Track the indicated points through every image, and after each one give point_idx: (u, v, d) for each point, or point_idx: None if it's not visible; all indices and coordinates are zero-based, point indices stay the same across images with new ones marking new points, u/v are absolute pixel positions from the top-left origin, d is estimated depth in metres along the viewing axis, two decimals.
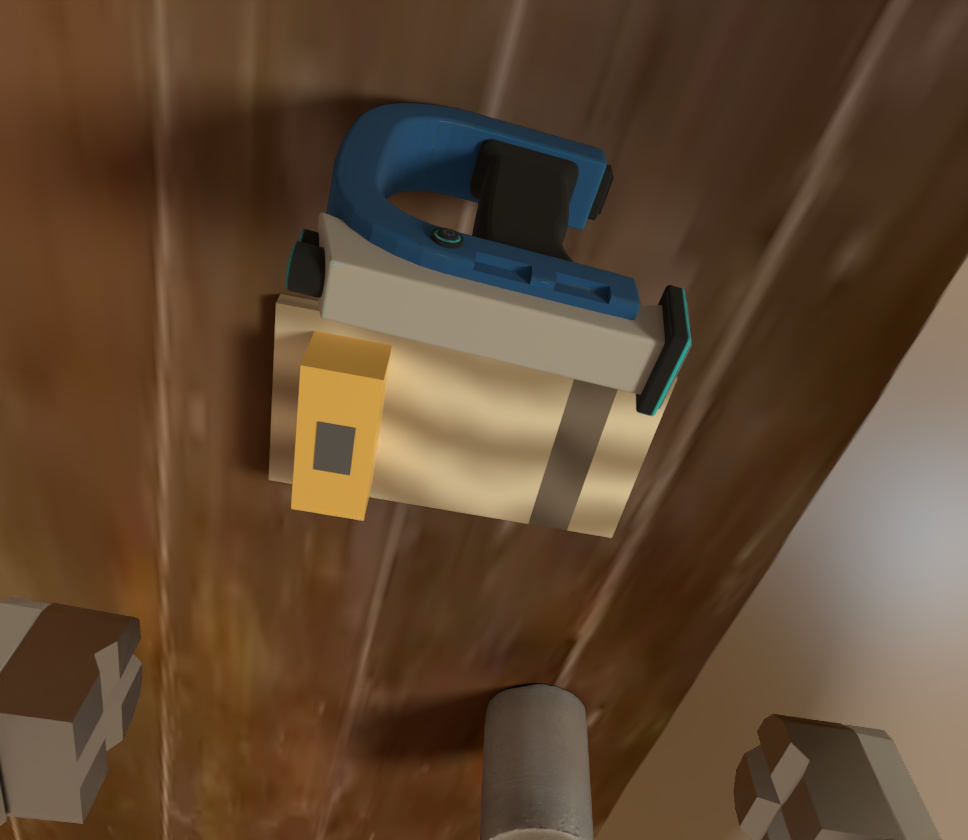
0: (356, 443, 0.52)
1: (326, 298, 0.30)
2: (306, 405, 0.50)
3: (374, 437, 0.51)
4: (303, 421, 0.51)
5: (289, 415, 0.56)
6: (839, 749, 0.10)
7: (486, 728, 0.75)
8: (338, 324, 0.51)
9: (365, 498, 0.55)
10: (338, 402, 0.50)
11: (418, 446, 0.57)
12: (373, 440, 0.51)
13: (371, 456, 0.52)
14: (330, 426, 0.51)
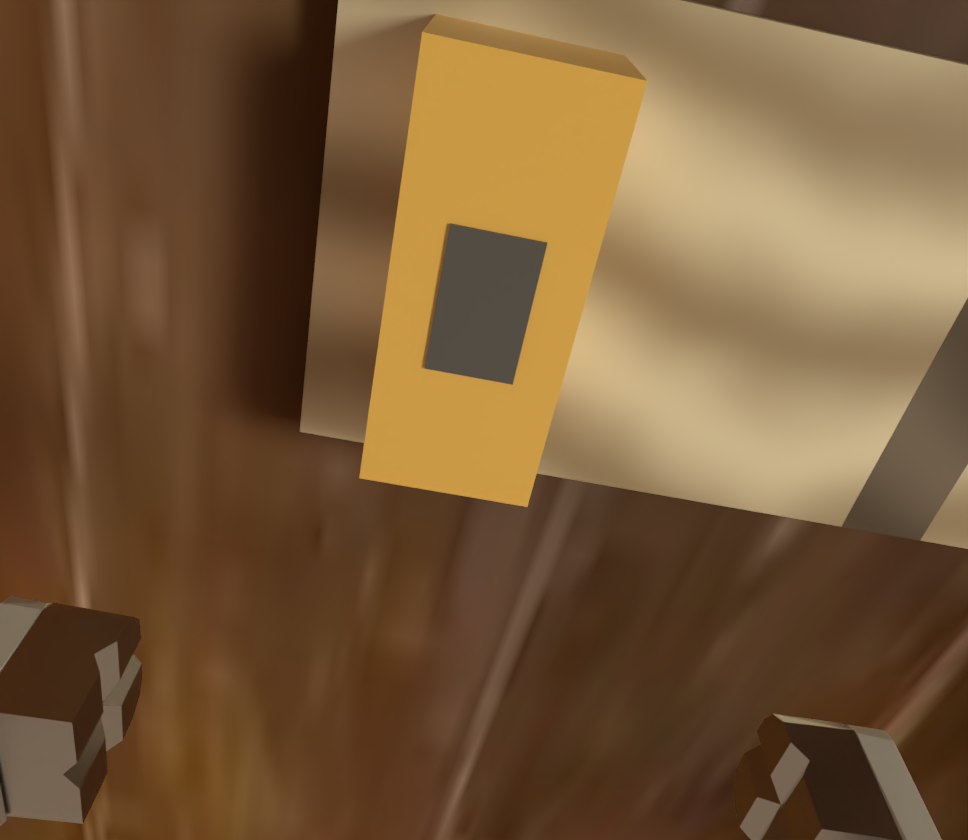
0: (542, 290, 0.20)
1: None
2: (426, 171, 0.19)
3: (590, 272, 0.20)
4: (411, 225, 0.20)
5: (355, 266, 0.24)
6: (839, 749, 0.10)
7: None
8: None
9: (540, 448, 0.23)
10: (512, 161, 0.19)
11: (641, 342, 0.25)
12: (587, 280, 0.20)
13: (574, 329, 0.21)
14: (483, 236, 0.20)
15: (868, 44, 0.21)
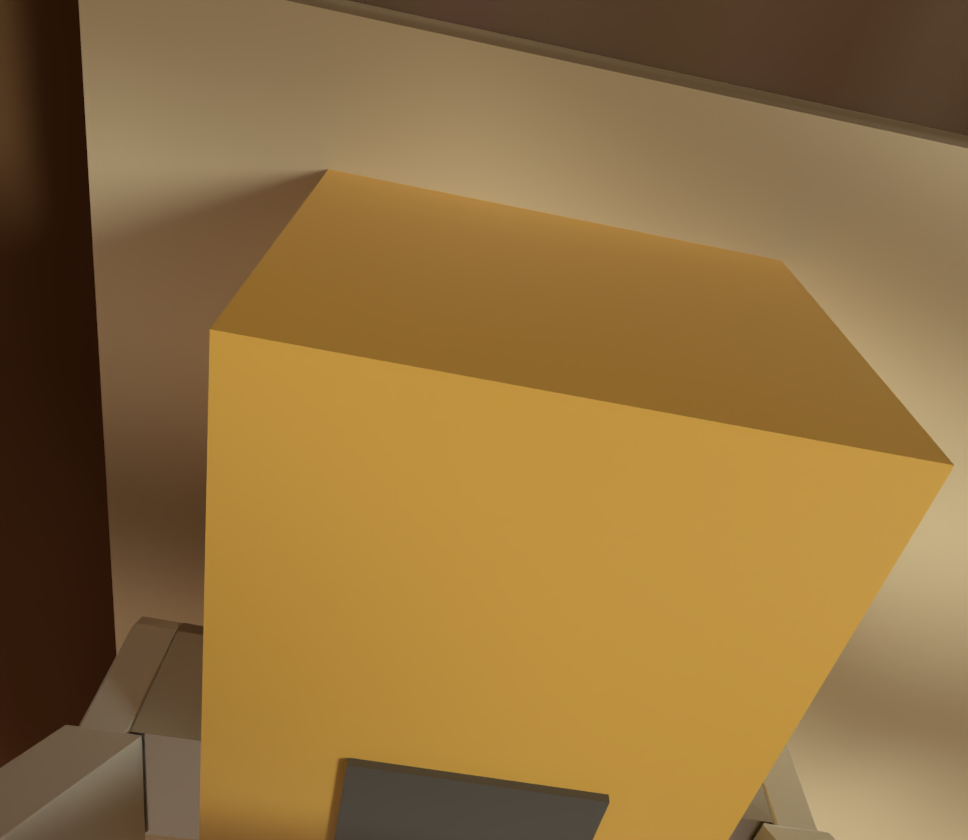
0: None
1: None
2: (271, 659, 0.07)
3: None
4: (245, 759, 0.07)
5: None
6: None
7: None
8: (479, 120, 0.08)
9: None
10: (516, 643, 0.06)
11: None
12: None
13: None
14: (437, 789, 0.07)
15: None
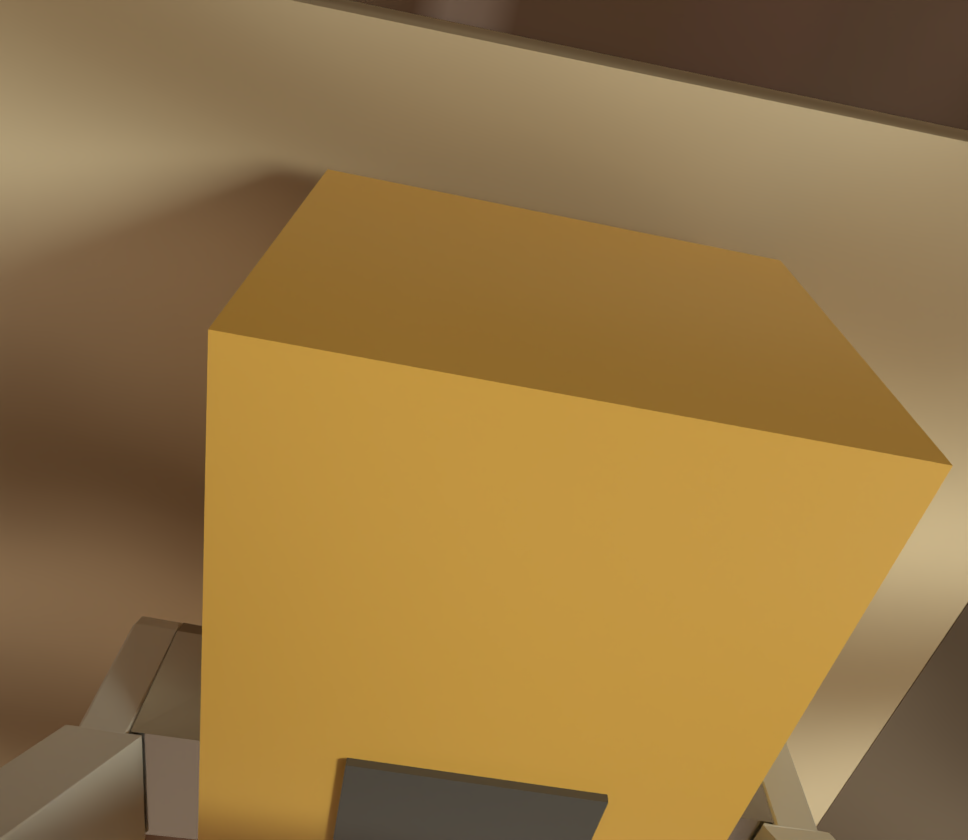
0: None
1: None
2: (269, 659, 0.07)
3: None
4: (245, 758, 0.07)
5: None
6: None
7: None
8: None
9: None
10: (515, 643, 0.06)
11: None
12: None
13: None
14: (436, 788, 0.07)
15: (738, 97, 0.09)
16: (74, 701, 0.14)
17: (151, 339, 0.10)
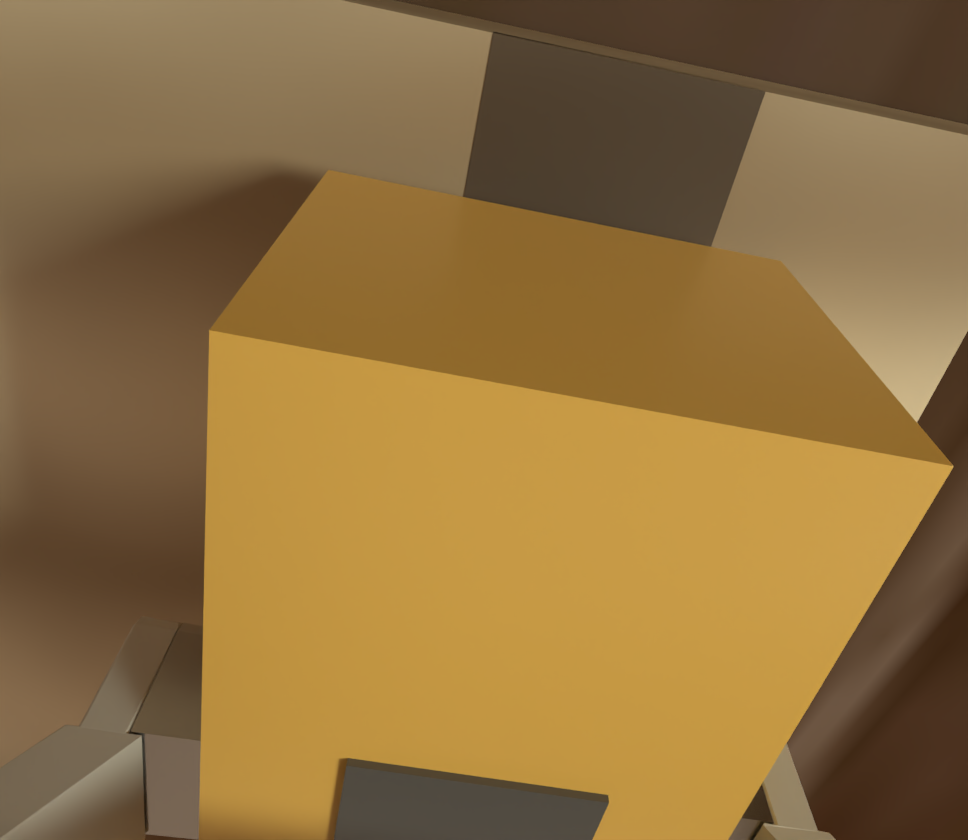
0: None
1: None
2: (270, 660, 0.07)
3: None
4: (245, 759, 0.07)
5: None
6: None
7: None
8: None
9: None
10: (515, 643, 0.06)
11: None
12: None
13: None
14: (437, 789, 0.07)
15: None
16: None
17: None
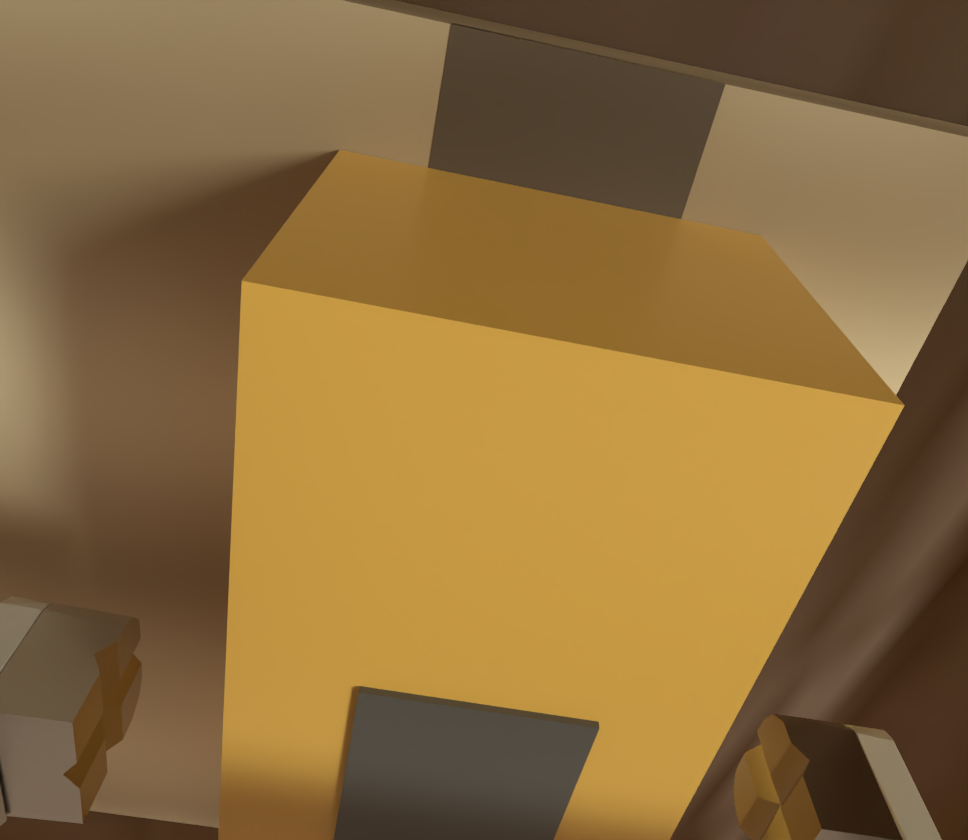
0: (583, 797, 0.09)
1: None
2: (291, 590, 0.07)
3: (699, 769, 0.08)
4: (266, 688, 0.08)
5: None
6: (839, 749, 0.10)
7: None
8: None
9: None
10: (513, 575, 0.07)
11: None
12: (690, 785, 0.09)
13: None
14: (441, 714, 0.08)
15: None
16: None
17: None
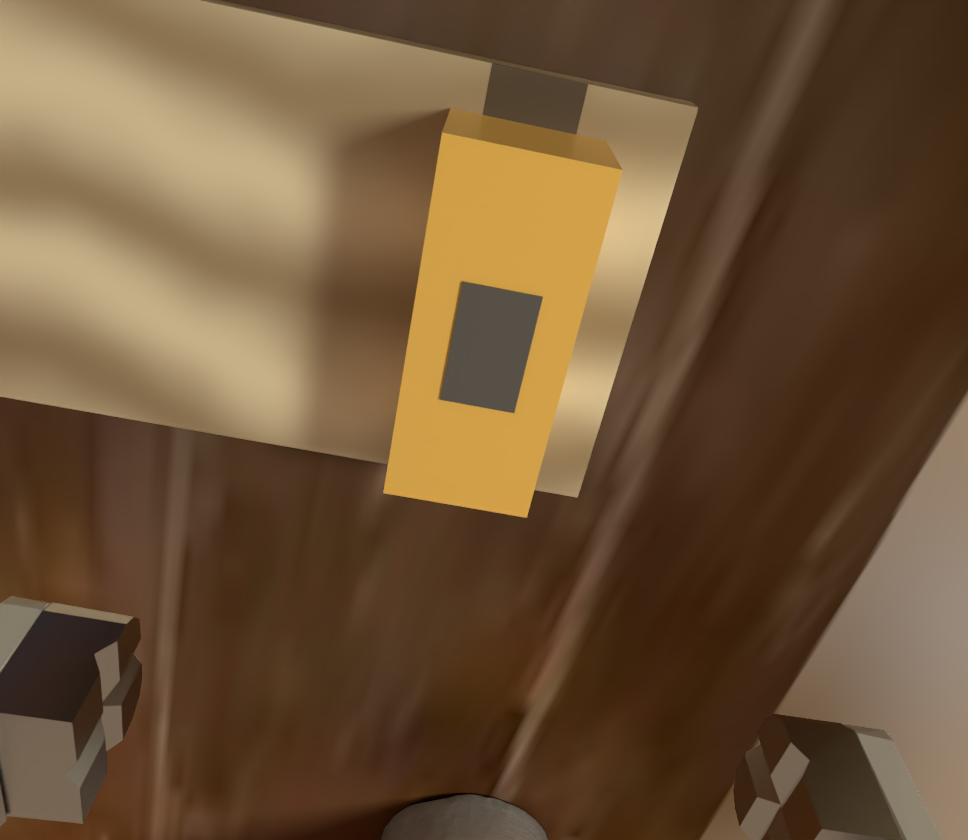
0: (538, 335, 0.25)
1: None
2: (444, 239, 0.23)
3: (578, 320, 0.24)
4: (431, 282, 0.24)
5: None
6: (839, 749, 0.10)
7: None
8: None
9: (538, 467, 0.27)
10: (513, 232, 0.23)
11: (183, 294, 0.28)
12: (576, 327, 0.24)
13: (565, 367, 0.25)
14: (489, 292, 0.24)
15: (295, 22, 0.24)
16: (52, 325, 0.29)
17: (84, 123, 0.26)
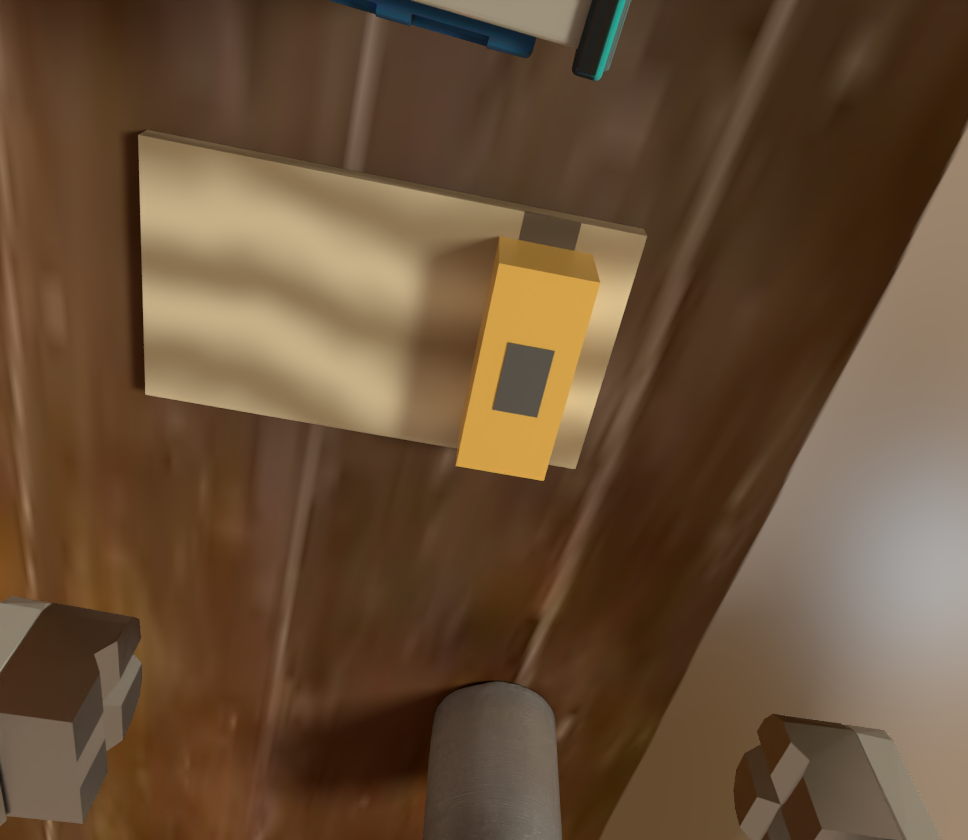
0: (552, 372, 0.42)
1: None
2: (498, 319, 0.40)
3: (575, 364, 0.41)
4: (490, 343, 0.41)
5: (165, 300, 0.44)
6: (839, 749, 0.10)
7: (432, 739, 0.61)
8: (219, 165, 0.41)
9: (551, 449, 0.44)
10: (538, 315, 0.40)
11: (329, 342, 0.46)
12: (574, 368, 0.42)
13: (568, 390, 0.42)
14: (523, 348, 0.41)
15: (409, 189, 0.41)
16: (245, 360, 0.46)
17: (278, 244, 0.43)
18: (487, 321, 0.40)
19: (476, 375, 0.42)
